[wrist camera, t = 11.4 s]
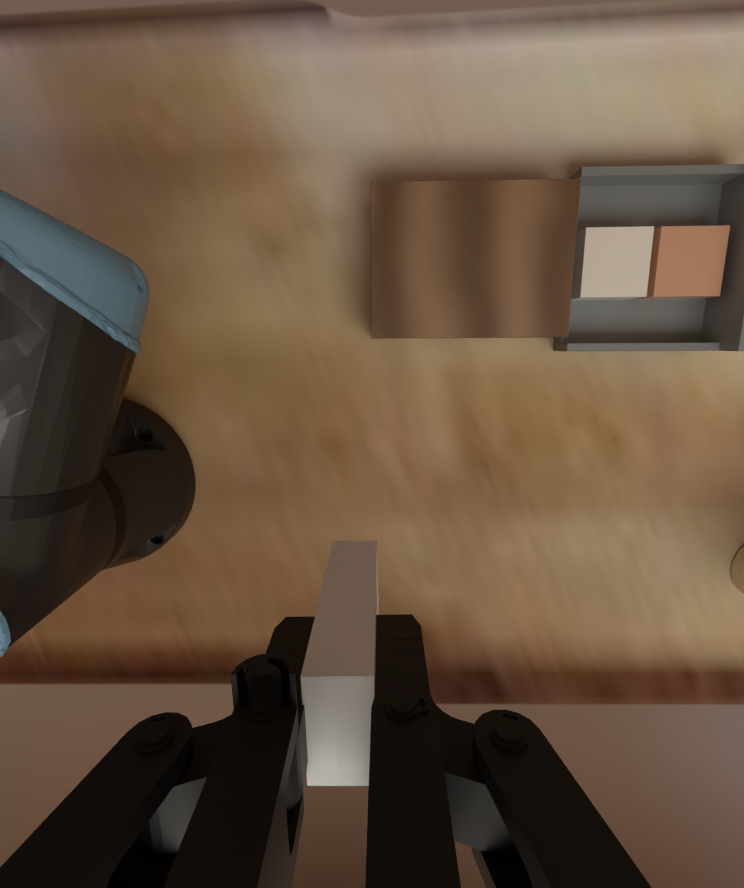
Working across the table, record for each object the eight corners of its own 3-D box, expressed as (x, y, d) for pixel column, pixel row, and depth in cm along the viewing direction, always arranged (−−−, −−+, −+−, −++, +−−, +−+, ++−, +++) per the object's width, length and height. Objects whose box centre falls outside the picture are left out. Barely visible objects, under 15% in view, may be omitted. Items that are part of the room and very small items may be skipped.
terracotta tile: (719, 296, 36) (698, 298, 38) (730, 225, 34) (707, 233, 37) (653, 296, 36) (636, 299, 38) (661, 226, 35) (643, 233, 37)
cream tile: (567, 300, 38) (580, 297, 36) (572, 235, 37) (586, 227, 35) (629, 299, 38) (646, 296, 36) (636, 233, 37) (654, 226, 35)
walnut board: (372, 338, 40) (371, 338, 36) (372, 198, 38) (370, 181, 34) (549, 337, 40) (567, 336, 36) (560, 195, 37) (581, 178, 33)
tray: (553, 350, 40) (577, 351, 35) (566, 180, 37) (594, 156, 32) (703, 349, 39) (749, 351, 35) (728, 178, 37) (781, 153, 32)
